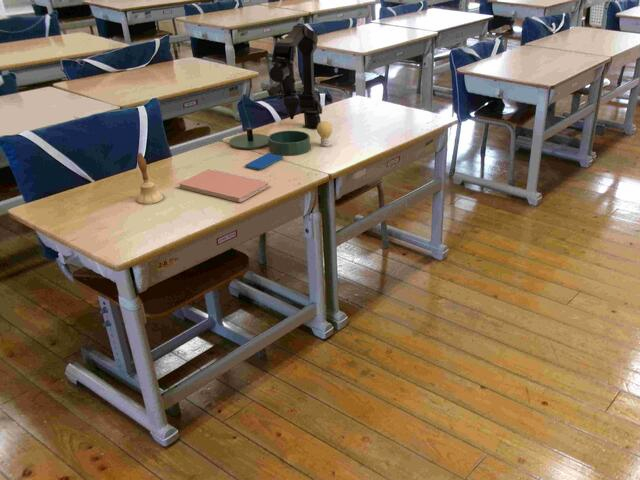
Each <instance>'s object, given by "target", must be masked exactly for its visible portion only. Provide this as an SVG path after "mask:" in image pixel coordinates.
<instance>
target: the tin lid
mask: <svg viewBox="0 0 640 480" xmlns="http://www.w3.org/2000/svg"><path fill="white" fill-rule="evenodd" d="M268 137H269V135H267V134H261V133H254V132H253V128H252V127H247V128H246V133H245V134H239V135H237V136H234V137H231V139H229V141H228V143H229V145H230V146H231V147H233V148H237V149H241V150H242V149H243V150H251V149H260V148H264V147H266V146H269V145H268Z"/></svg>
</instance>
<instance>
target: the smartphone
mask: <svg viewBox="0 0 640 480" xmlns="http://www.w3.org/2000/svg"><path fill="white" fill-rule="evenodd" d="M283 158H284V156H282V155H277V154H273V153H271V152H267V153H266V154H263V155H261V156H260V157H258V158H255V159H254V160H252V161H250V162H248V163H246V164H245V168H248V169H252V170H257V171H260V170H261V171H262V170H263V169H265V168H267V167H269V166H271V165H273V164H274V163H276V162H279V161H280V160H282V159H283Z"/></svg>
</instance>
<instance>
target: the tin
mask: <svg viewBox="0 0 640 480" xmlns="http://www.w3.org/2000/svg"><path fill="white" fill-rule="evenodd" d="M268 136H269V137H268V145H267V146H268V150H269V153H273V154H277V155H282V156H283V157H286V156H287V157H288V156H289V157H291V156H292V157H293V156H299V155H303V154H305V153H307V152H309V151H310V150H311V137H310V134H309V133H308V132H305V131H301V130H280V131H276V132H273V133H271V134H269V135H268Z"/></svg>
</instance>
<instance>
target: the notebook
mask: <svg viewBox="0 0 640 480" xmlns="http://www.w3.org/2000/svg"><path fill="white" fill-rule="evenodd" d="M177 184H178V185H179V186H178V188H179V189H184V190H187V191H192V192H196V193H200V194H205V195H208V196H212V197H216V198H220V199H224V200H229V201H233V202H236V203H242V202H244V201H246V200H248V199H249V198H251V197H253V196H255V195H257V194H259V193H260V192H262V191H264V190H266V189H268V188H270V186H269V182H267V181H265V180H263V179H259V178H255V177H249V176H245V175H241V174H236V173H233V172H229V171H224V170H219V169H206V170H204V171H202V172H200V173H198V174H195V175H193V176H191V177H189V178H187V179H184V180H182V181H180V182H178V183H177Z"/></svg>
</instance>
